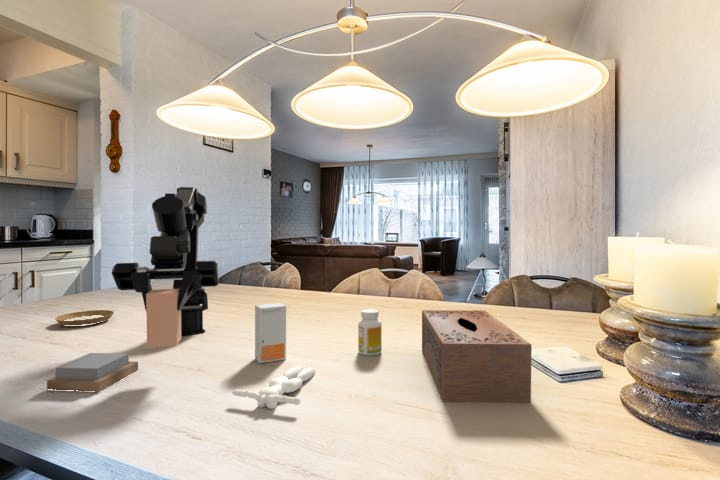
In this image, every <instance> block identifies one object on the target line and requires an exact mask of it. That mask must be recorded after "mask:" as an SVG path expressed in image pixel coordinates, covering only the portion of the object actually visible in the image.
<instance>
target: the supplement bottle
mask: <svg viewBox="0 0 720 480" xmlns="http://www.w3.org/2000/svg"><path fill="white" fill-rule="evenodd" d="M360 316H361V319H360V320H359V321H358V328H357V329H358V331H357V332H358V333H357V335H358V338H357V339H358V340H357V341H358V344H357V345H358V349H357V350H358V353H359V355H363V356H367V357H368V356H378V355H380V354H381V353H382V347H383V346H382V321H381V320H380V319H379V310H377V309H375V308H374V309H371V308H367V309H362V310H361V313H360Z"/></svg>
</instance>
